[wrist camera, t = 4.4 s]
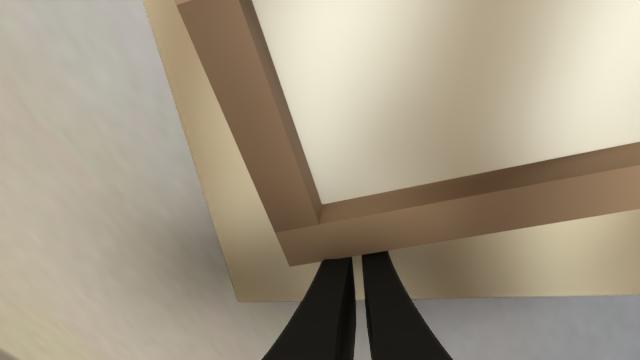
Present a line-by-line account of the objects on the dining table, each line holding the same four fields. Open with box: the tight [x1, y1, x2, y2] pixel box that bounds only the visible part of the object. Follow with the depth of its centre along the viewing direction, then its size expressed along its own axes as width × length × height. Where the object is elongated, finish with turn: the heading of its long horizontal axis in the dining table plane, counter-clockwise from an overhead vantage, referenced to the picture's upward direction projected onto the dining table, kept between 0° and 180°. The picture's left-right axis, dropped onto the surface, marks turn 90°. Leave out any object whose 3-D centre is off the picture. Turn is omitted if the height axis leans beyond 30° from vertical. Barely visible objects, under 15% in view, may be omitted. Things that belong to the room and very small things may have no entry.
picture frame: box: [174, 0, 640, 267], centre depth 8 cm, size 12×8×2 cm, turn 106°
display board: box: [143, 0, 640, 302], centre depth 10 cm, size 16×14×1 cm
